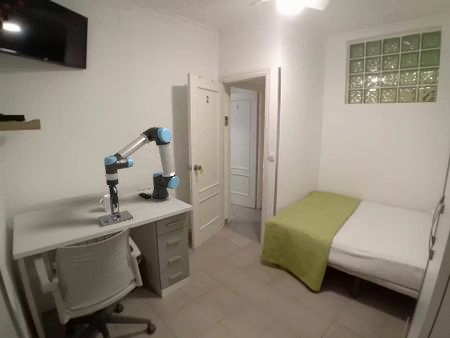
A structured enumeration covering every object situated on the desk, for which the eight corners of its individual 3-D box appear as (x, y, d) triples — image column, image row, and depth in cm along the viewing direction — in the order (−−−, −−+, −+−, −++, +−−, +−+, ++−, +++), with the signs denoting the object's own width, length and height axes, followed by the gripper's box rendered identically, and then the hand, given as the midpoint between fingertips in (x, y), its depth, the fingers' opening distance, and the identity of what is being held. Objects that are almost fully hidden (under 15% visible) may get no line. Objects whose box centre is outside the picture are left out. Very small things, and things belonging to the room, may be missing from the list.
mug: (101, 213, 174) (99, 198, 172) (99, 209, 181) (98, 195, 179) (117, 210, 181) (116, 195, 178) (115, 206, 188) (114, 192, 185)
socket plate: (127, 212, 177) (127, 209, 176) (133, 219, 166) (133, 215, 166) (98, 219, 164) (97, 216, 164) (102, 226, 154) (102, 223, 153)
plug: (117, 211, 167) (116, 193, 164) (119, 213, 164) (117, 195, 161) (111, 213, 165) (109, 194, 162) (112, 215, 161) (110, 196, 158)
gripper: (103, 177, 163) (106, 208, 168) (109, 182, 150) (112, 216, 155) (114, 175, 168) (117, 205, 173) (121, 180, 154) (124, 213, 159)
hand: (115, 210), depth 164 cm, fingers closed on plug, 4 cm apart
